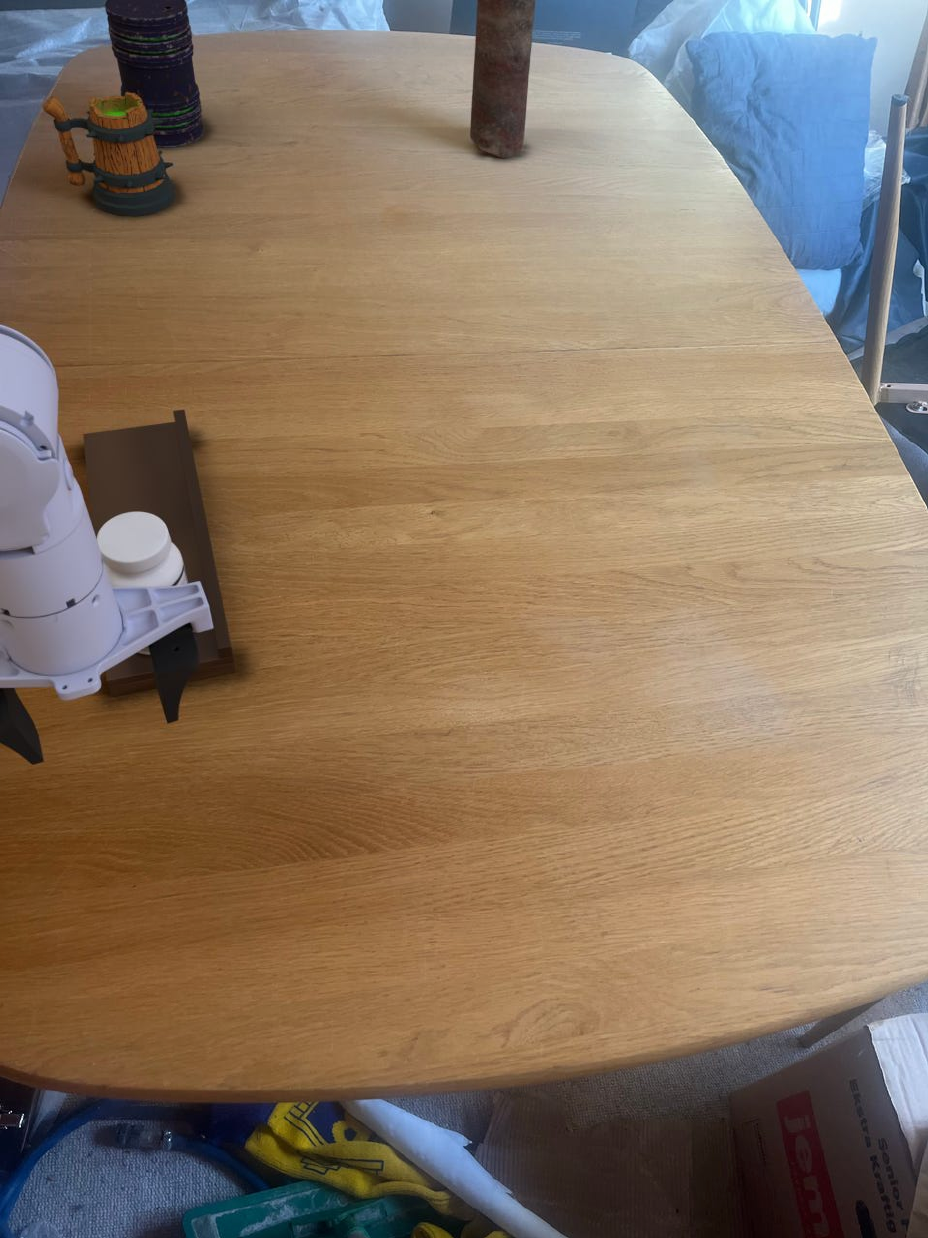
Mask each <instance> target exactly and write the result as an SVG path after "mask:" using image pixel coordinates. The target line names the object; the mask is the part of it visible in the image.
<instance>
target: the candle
mask: <svg viewBox="0 0 928 1238" xmlns="http://www.w3.org/2000/svg"><path fill="white" fill-rule="evenodd" d="M536 2H537V1H536V0H477V1H476V5H477V6H476V22H475V38H474V39H475V43H474V58H473V70H472V71H473V75H472V89H471V90H472V91H471V109H470V129H469V137H470V139H471V142H472V144H474V145H476V146H477V147H478V148H479V149H480V150H481V151H483V152H485V153H489V154H491V155H493V156H495V157H497V158H500V159H508V158H511V157H513V156H514V155H516V154H519V153H520V152H521V151H522V149H523V147H524V140H525V130H526V118H527V107H528V104H527V103H528V91H529V76H530V67H531V56H532V55H531V54H532V46H533V34H534V33H533V31H534V23H535V12H536V11H535V10H536Z"/></svg>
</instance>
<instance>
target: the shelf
mask: <svg viewBox="0 0 928 1238" xmlns="http://www.w3.org/2000/svg"><path fill="white" fill-rule="evenodd" d="M172 413H173V418H174V421H170V422H162V423H155V424H147V425H140V426H132V427H125V428H118V429H117V428H116V429H109V430H102V431H95V432H87V433H83V434H82V435H83V436H82V437H83V448H84V459H85V467H86V468H85V469H86V470H85V471H86V478H87V479H86V480H87V489H88V499H89V500H88V501H89V510H90V520H91V523H92V527H93V530H94V533H95V536H96V539H97V535H98V532H99V530H100V529H101V528H102V526H103V525H104V524H105V523H106V522H107V521H109V520H110V519H112V518H114V517H116V516H118V515H120V514H123V513H128V512H146V513H150V514H153V515H155V516H157V517H159V518H160V519H161V520H162V521H163V522H164V523H165V524H166V526H167V529H168V532H169V535H170V538H171V542H172V543H173V544H174V545H175V546H176V547H177V548H178V550H179V551H180V553H181V556H182V560H183V564H184V568H185V572H186V577H187V581H188V584H189V583H193V582H198V581H200V582H201V585H202V588H203V591H204V593H205V596H206V599H207V602H208V604H209V608H210V613H211V618H212V623H213V629H210V630H206V631H203V632H199V633H196V632H193V633H194V637H195V640H196V643H197V646H198V649H199V653H200V662H199V668H198V670H196V671H195V672H194V673H193V674H192V676H191V677H190V678H189V680H188V682H187V683H189V682H194V681H199V680H204V679H205V680H206V679H209V678H214V677H215V678H216V677H221V676H225V675H229V674H234V673H237V668H236V663H235V658H234V652H233V647H232V642H231V637H230V632H229V626H228V622H227V617H226V616H227V615H226V611H225V606H224V602H223V597H222V591H221V586H220V582H219V581H220V580H219V577H218V576H219V575H218V573H217V572H218V571H217V567H216V561H215V557H214V552H213V551H214V550H213V546H212V541H211V536H210V531H209V527H208V521H207V516H206V512H205V511H206V510H205V506H204V501H203V496H202V492H201V491H202V490H201V486H200V481H199V477H198V469H197V466H196V461H195V456H194V451H193V446H192V441H191V436H190V435H191V434H190V431H189V425H188V421H187V417H186V415H187V414H186V410H185V409H178V410H173V411H172ZM105 680H106V681H105V682H106V683H107V686H108V689H109V692H110V694H111V697H113V698H114V697H118V696H123V695H128V694H133V693H134V694H135V693H138V692H144V691H150V690H154V689H157V687H156V683H155V678H154V672H153V666H152V660H151V655H147V654H141V653H138V652H137V653H135V654H133V655H132V656H130V657H128V658H127V659H125V660H123V661H122V662H120V663H118V664H117V665H115V666H113V667H111V668H110V669H108V670H106V671H105Z"/></svg>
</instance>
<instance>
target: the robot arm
mask: <svg viewBox="0 0 928 1238" xmlns="http://www.w3.org/2000/svg"><path fill="white" fill-rule="evenodd" d="M58 422H59V387H58V380H57V374H56V371H55V368H54V366H53V364H52V361H51V360H50V358H49V356H48V355H47V354H46V353H45V351H44V350H43V349H42V348H41V347H40V346H39V345H38V344H37V343H36V342H34V341H33V340H32V339H31V338H29V337H28V336H26V335H25V334H23V333H21V332H20V331H18V330H16V329H13V328H11V327H9V326H7V325H3V324H0V744H1V745H3V746H5V747H7V748H9V749H10V750H12V751H13V752H15V753H17V754H18V755H19V756H21V758H23V759H25V760H26V761H27V763H29V764H30V765H33V766H34V765H38V764H41V763H44V762H45V759H44V755H43V754H44V753H43V750H42V744H41V740H40V735H39V732H38V729H37V727H36V725H35V722H34V719H33V718H32V716H31V714H30V713H29V711H28V710H27V709H26V707H25V705H24V703H23V702H22V700H21V698H20V697H19V695H18V693H17V690H16V689H19V688H20V689H23V688H53V689H54V690H55V692H56V695H57V697H58V698H59V700H61V701H65V702H67V701H73V700H75V699H80V698H83V697H86V696H90V695H94V694H95V693H97V692H99V691H100V689H101V688H102V680H101V675H102V674H103V673H106V670H108V669H110V668H111V667H113V666H115V665H117V664H118V663H120V662H122V661H123V660H125V659H127V658H128V657H130V656H132V655H133V654H135V653H137V652H138V651H140V650H142V649H144V648H145V647H147V646H148V648H149V652H150V655H151V660H152V666H153V672H154V678H155V683H156V687H157V688H156V690H157V694H158V697H159V700H160V703H161V707H162V710H163V713H164V718H165V720H166V723H167V724H172V723H175V722H178V721H179V720H180V719H179V717H180V715H179V711H180V705H181V699H182V696H183V693H184V690H185V688H186V686H187V684H188V683H189V682H188V680H189V678H190V677H191V676H192V674H193V673H194V672H195V671H196V670H198V668H199V662H200V653H199V649H198V646H197V643H196V640H195V637H194V633H193V631H194V632H196V633H199V632H203V631H206V630H210V629H213V623H212V618H211V613H210V608H209V604H208V602H207V599H206V596H205V593H204V591H203V588H202V585H201V582H200V581H198V582H193V583H189V584H184V585H176V586H140V587H112V586H111V583H110V580H109V577H108V574H107V571H106V568H105V565H104V562H103V558H102V555H101V551H100V548H99V545H98V542H97V539H96V536H95V533H94V530H93V527H92V523H91V516H90V515H89V514H90V513H89V511H88V508H87V505H86V501H85V499H84V495H83V492H82V489H81V486H80V485H79V483H78V481H77V479H76V478H75V476H74V472H73V468H72V465H71V463H70V461H69V459H68V456H67V453H66V449H65V446H64V443H63V440H62V437H61V436H60V434H59V433H58V424H59V423H58Z"/></svg>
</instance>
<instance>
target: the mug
mask: <svg viewBox="0 0 928 1238" xmlns="http://www.w3.org/2000/svg"><path fill="white" fill-rule="evenodd" d="M41 107H42V109H43V111H44V112H45V113H46V114H48V115H49V116H51V117H52V118H54V119H53V126H54V129H55V130H57V132H58V137H59V143H60V146H61V149H62V151H63V154H64V155H65V158H66V161H65V167H66V169H67V170H68V174H67V178H66V179H67V182H68V183H69V184H70V185H71V186H74V187H81V186H84V185H85V184H86V180H87V179H86V176H85V174H84V172H83V171H85V172H87V173H92V174H93V175H94V178H93V179H92V181H93V187H92V189H91V193H92V198H93V200H94V203H95V206H96V207H98V208H100V209H101V210H103V211H104V212H105V213H109V214H112V215H116V216H121V217H122V216H123V217H141V216H148V215H153V214H155V213H158V212H160V211H163V210H166V209H167V208H168V207H170V206H171V205H172V204H173V203H174V202H175V199H176V195H177V193H176V188H175V185H174V183H173V181H172V179H170V177H169V174H168V172H167V169H169V168H171V167H173V166H174V163H173V162H169V161H168V162H165V160H164V159H163V157H162V154H163V153H164V152H163V150H158V147H156V143H155V140H154V136H153V135H154V134H155V133H154V132H153V131H154V129H155V126H157V125H160V124H162V123H163V120H154V119H153V118H152V117H151V115H150V114H151V113H152V112H153V110H152V109H150V110H146V109H145V106H144V104H143V102H142V99H141V98H140V97H139V96H138V95H137V94H135V93H131V92H126V93H125V96H121V95H111V96H105V97H101V98H99V97H95V96H90V98H89V102H88V109H89V110H87V111H86V114H88V117H87V118H83V117H79V118H78V117H75V118H72V119H70V118H69V117H68V114H67V113H66V111H65V108H64V107H63V105H62V102H60V101H59V99H57V98H56V97H54V96H50V97H48V98H47V99H45V101H44V103H42V106H41ZM76 128H77V129H84V130H87V132H88V133H87V134H86V135H85V137H86V138H87V139H89V138H91V139H92V145H93V157H94V159H93V162H84V161H83V160H81V159H80V158H79V154H78V151H77V149H76V146H75V142H74V139H73V136H72V133H71V130H72V129H76Z"/></svg>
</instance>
